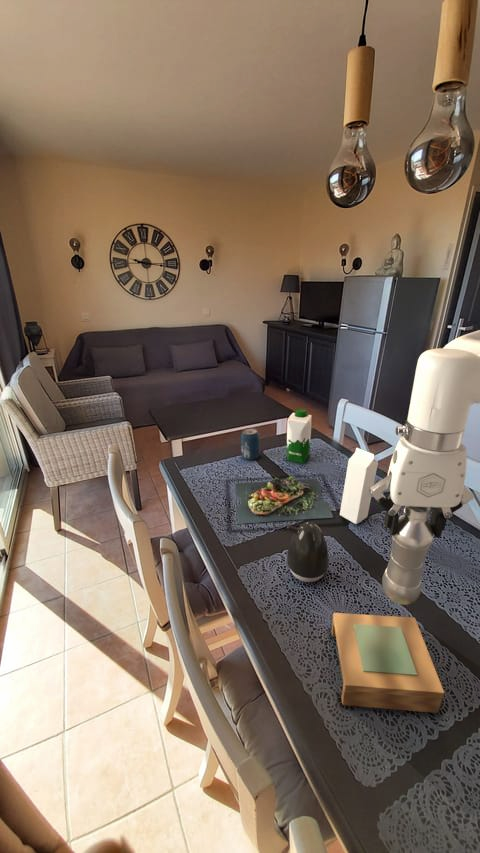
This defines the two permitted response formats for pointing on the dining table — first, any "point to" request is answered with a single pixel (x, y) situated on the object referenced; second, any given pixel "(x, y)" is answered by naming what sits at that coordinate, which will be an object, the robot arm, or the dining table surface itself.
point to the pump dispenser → (307, 552)
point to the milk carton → (298, 436)
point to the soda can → (250, 444)
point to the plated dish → (280, 501)
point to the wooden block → (385, 663)
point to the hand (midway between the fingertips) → (412, 530)
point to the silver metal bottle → (408, 555)
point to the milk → (358, 486)
